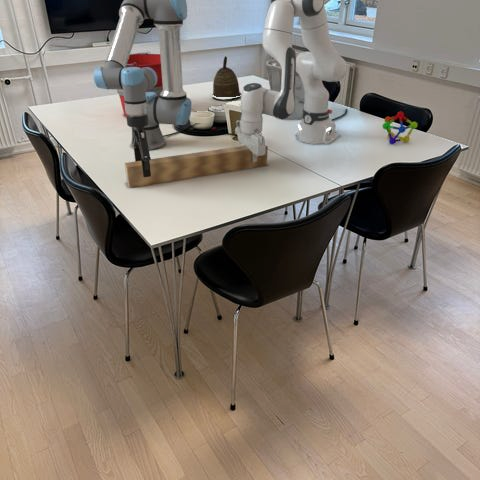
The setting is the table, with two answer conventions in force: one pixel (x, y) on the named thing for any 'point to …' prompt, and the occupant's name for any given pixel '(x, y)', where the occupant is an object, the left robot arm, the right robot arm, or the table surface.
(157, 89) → the bucket
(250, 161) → the beam
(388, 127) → the educational toy
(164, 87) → the left robot arm
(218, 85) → the bell
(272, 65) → the bucket
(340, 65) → the right robot arm
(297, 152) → the table surface
